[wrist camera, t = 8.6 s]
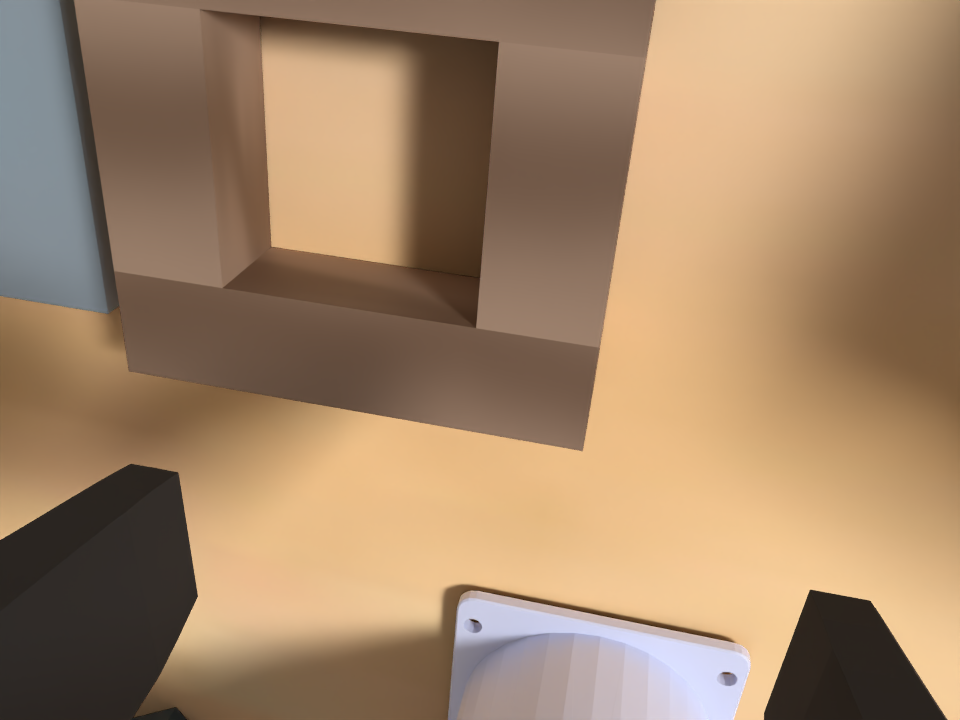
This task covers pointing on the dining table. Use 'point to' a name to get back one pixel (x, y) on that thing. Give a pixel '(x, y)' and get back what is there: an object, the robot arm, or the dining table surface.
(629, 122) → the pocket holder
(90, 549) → the robot arm
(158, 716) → the watch
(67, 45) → the rubber mat
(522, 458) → the dining table surface
